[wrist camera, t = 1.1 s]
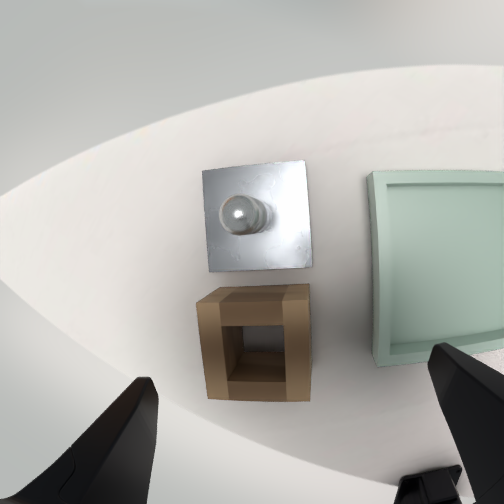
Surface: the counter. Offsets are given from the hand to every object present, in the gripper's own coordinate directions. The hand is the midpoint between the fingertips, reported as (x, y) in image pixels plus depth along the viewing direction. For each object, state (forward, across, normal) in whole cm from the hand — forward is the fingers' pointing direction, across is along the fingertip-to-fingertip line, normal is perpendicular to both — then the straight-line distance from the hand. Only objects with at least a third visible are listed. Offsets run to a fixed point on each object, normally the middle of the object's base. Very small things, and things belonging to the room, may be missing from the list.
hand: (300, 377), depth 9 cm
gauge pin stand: (+15, 0, 0) cm, 15 cm away
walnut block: (+12, 0, +8) cm, 14 cm away
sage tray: (+11, -13, +3) cm, 17 cm away
